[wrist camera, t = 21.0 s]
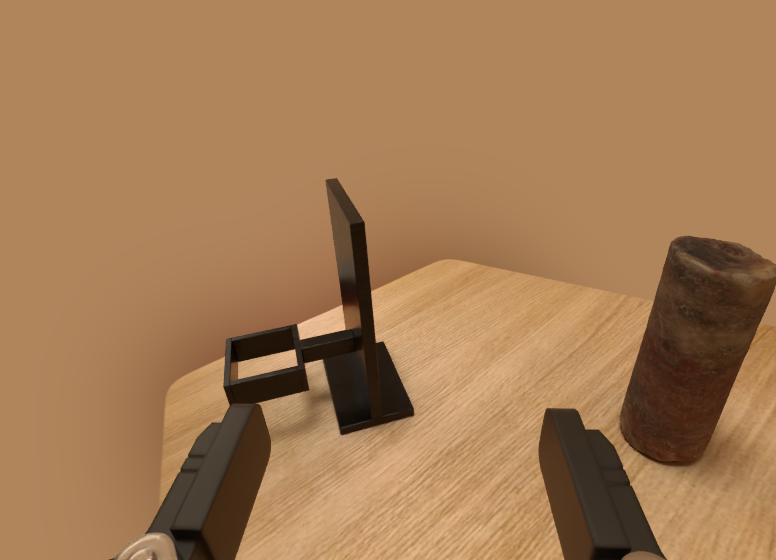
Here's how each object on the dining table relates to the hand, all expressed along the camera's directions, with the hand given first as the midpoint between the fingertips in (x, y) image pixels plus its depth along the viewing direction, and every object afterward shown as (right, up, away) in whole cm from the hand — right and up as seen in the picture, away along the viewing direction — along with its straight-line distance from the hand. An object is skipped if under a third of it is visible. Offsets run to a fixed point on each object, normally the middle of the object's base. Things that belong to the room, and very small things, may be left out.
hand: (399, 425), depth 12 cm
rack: (-8, -9, +37) cm, 39 cm away
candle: (+26, -11, +30) cm, 42 cm away
